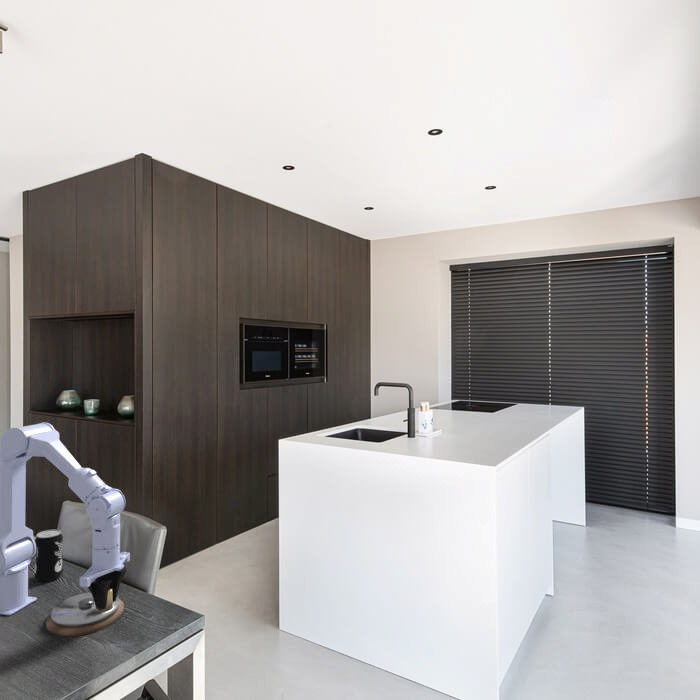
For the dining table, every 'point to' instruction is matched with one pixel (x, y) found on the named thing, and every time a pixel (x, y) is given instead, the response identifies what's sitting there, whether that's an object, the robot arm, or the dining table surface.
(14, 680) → the dining table surface
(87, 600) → the handwheel
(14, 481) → the robot arm
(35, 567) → the beverage can
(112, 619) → the wheel base
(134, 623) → the dining table surface
